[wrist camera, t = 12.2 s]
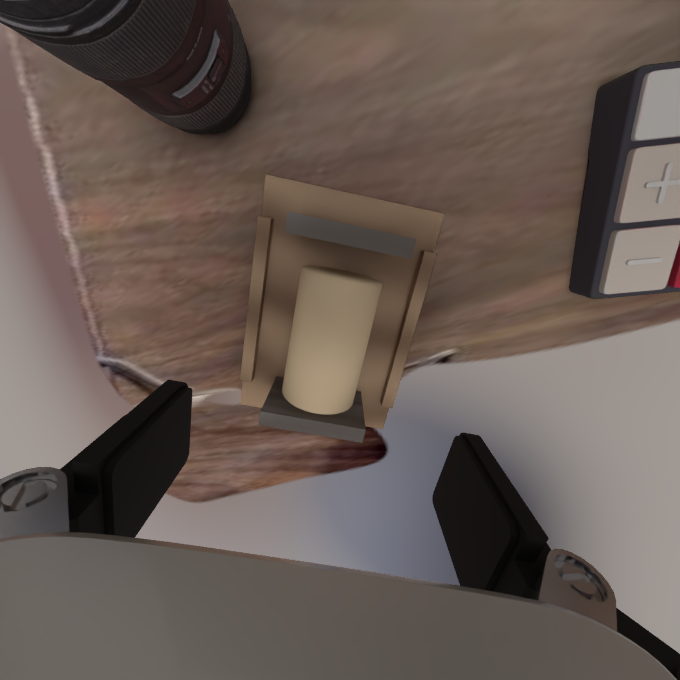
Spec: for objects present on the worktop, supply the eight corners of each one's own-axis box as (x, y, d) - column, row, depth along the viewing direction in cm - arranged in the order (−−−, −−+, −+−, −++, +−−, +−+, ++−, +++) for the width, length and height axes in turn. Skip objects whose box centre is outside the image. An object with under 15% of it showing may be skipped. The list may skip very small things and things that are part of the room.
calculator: (597, 302, 24) (650, 58, 19) (560, 290, 28) (595, 86, 23) (744, 289, 24) (843, 36, 18) (686, 278, 28) (753, 68, 22)
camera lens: (250, 0, 21) (60, -484, 7) (269, 138, 24) (161, -3, 9) (133, 13, 21) (-285, -425, 7) (164, 149, 24) (-95, 27, 10)
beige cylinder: (338, 267, 27) (284, 263, 22) (397, 285, 23) (348, 284, 19) (317, 371, 30) (266, 386, 25) (367, 400, 27) (318, 423, 22)
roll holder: (268, 176, 24) (241, 155, 18) (440, 214, 25) (476, 208, 19) (243, 398, 31) (216, 444, 24) (381, 423, 32) (392, 473, 25)
